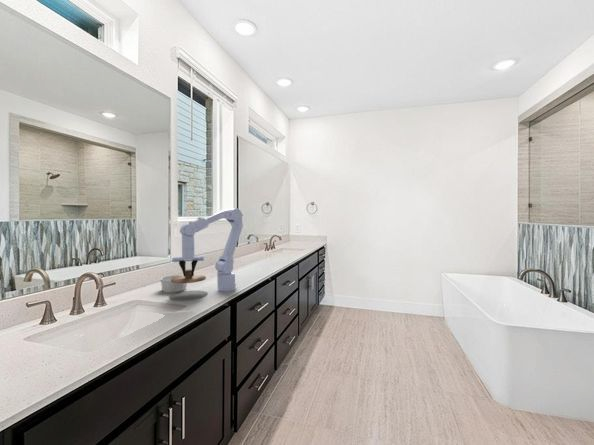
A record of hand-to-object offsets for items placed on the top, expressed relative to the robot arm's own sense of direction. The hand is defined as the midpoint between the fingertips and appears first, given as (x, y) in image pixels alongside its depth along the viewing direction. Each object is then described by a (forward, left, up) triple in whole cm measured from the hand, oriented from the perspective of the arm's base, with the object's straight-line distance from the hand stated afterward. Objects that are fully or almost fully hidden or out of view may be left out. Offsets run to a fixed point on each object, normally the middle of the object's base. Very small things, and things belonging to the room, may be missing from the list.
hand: (188, 275), depth 140 cm
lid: (0, 0, -2) cm, 2 cm away
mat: (0, 0, -10) cm, 10 cm away
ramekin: (+9, -14, -10) cm, 20 cm away
